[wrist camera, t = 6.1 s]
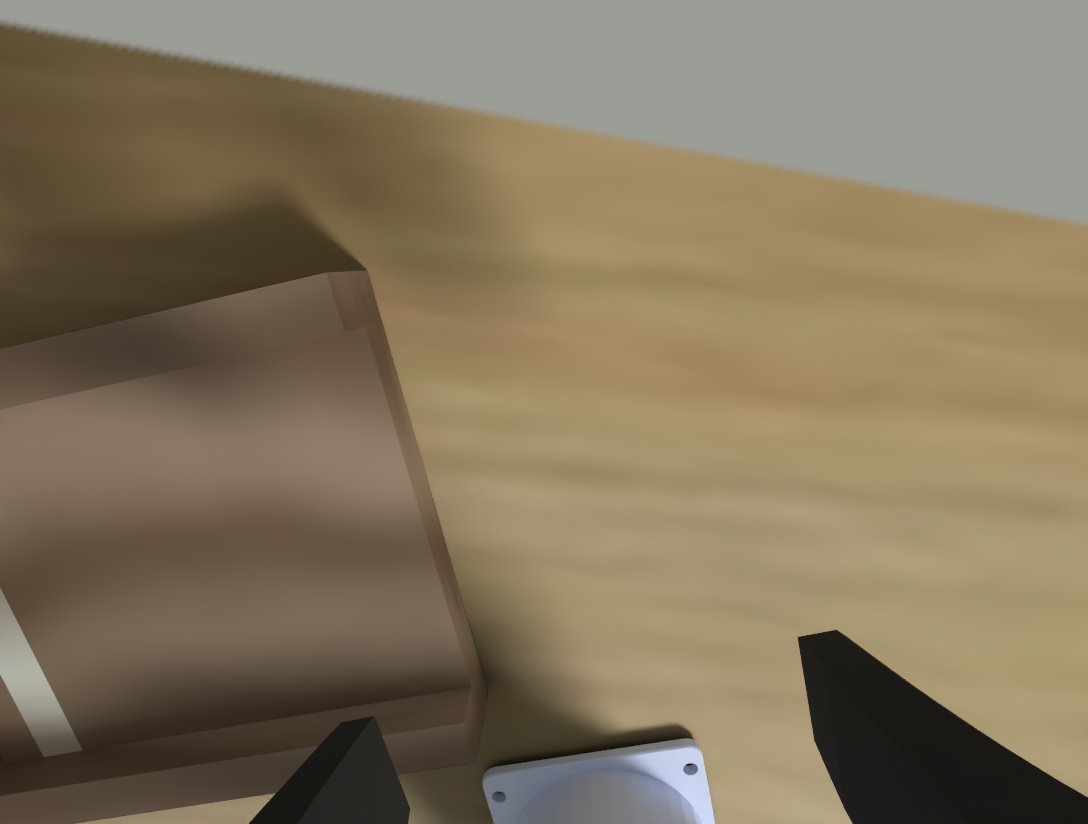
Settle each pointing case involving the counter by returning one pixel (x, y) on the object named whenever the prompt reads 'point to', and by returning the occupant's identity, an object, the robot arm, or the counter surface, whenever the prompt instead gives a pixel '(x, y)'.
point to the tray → (218, 558)
